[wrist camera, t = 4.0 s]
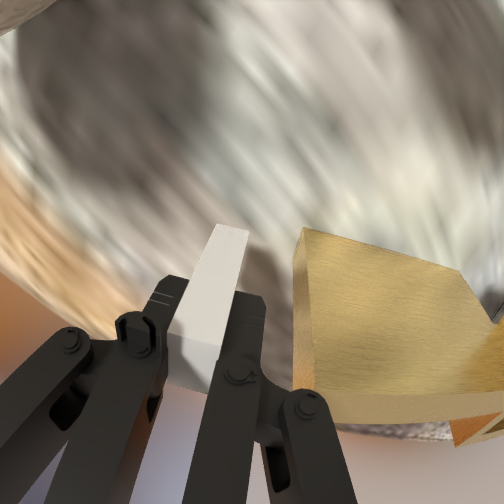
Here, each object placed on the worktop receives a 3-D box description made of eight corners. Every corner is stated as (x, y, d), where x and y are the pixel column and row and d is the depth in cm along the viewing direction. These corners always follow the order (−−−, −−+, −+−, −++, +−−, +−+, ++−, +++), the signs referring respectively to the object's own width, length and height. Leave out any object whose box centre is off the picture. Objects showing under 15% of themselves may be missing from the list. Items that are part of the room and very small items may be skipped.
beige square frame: (325, 154, 13) (388, 267, 5) (551, 256, 13) (611, 332, 5) (274, 310, 18) (262, 454, 10) (493, 344, 19) (527, 426, 10)
